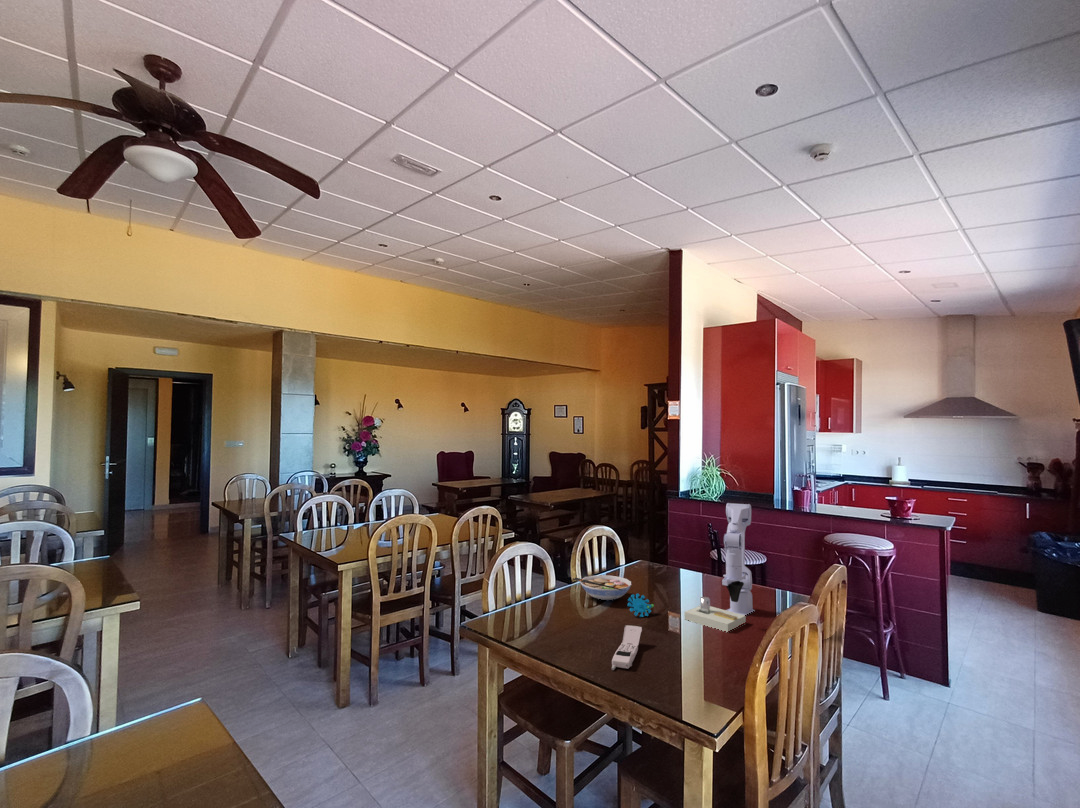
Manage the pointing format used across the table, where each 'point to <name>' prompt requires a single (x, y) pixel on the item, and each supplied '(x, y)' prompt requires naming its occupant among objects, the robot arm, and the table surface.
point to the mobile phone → (627, 647)
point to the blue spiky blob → (639, 605)
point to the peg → (705, 605)
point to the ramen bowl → (605, 586)
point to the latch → (725, 615)
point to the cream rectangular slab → (714, 618)
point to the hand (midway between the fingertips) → (734, 601)
